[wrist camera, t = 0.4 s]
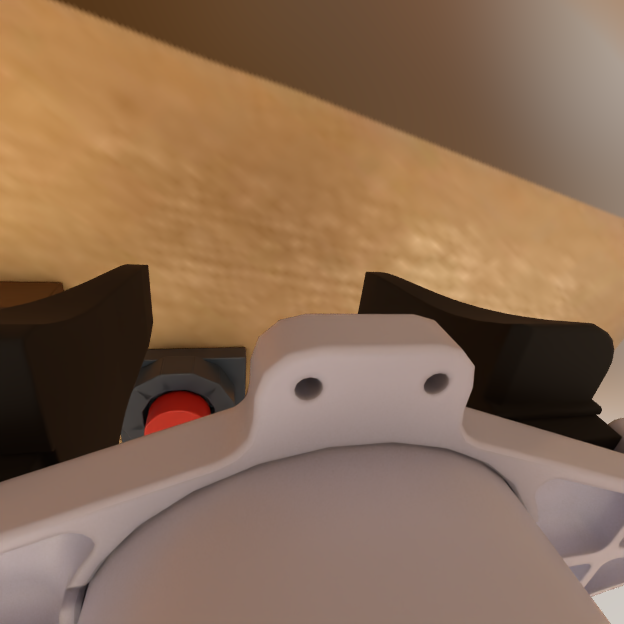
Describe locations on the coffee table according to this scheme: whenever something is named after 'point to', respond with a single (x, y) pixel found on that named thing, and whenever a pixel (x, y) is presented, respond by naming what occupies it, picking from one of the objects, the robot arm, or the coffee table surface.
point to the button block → (186, 381)
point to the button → (175, 410)
